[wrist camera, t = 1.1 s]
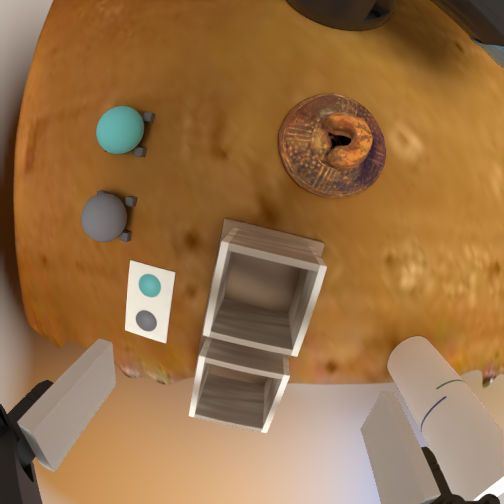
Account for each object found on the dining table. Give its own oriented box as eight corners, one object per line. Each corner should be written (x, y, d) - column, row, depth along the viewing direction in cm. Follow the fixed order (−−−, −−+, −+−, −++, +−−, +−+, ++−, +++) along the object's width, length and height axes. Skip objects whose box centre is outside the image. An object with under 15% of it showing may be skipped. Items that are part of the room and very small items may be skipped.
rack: (225, 218, 32) (209, 230, 23) (323, 241, 32) (342, 262, 23) (195, 372, 36) (178, 416, 28) (275, 390, 36) (274, 437, 28)
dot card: (131, 259, 34) (130, 260, 33) (175, 272, 33) (175, 273, 33) (125, 329, 36) (125, 330, 35) (166, 342, 36) (165, 343, 35)
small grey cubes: (118, 111, 30) (114, 110, 29) (155, 114, 30) (151, 112, 29) (96, 231, 33) (92, 232, 32) (130, 240, 33) (126, 241, 32)
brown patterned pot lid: (370, 210, 31) (396, 217, 24) (267, 182, 31) (266, 180, 24) (390, 115, 28) (417, 100, 21) (290, 84, 28) (295, 58, 21)
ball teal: (117, 110, 30) (94, 100, 24) (156, 113, 30) (136, 101, 24) (107, 153, 31) (82, 149, 25) (145, 158, 31) (123, 154, 25)
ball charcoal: (100, 189, 32) (75, 190, 26) (138, 196, 32) (115, 199, 26) (95, 232, 33) (70, 240, 28) (131, 241, 33) (108, 251, 28)
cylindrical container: (378, 361, 35) (452, 512, 10) (418, 326, 33) (525, 455, 9) (401, 385, 35) (467, 517, 11) (437, 354, 34) (527, 471, 10)
